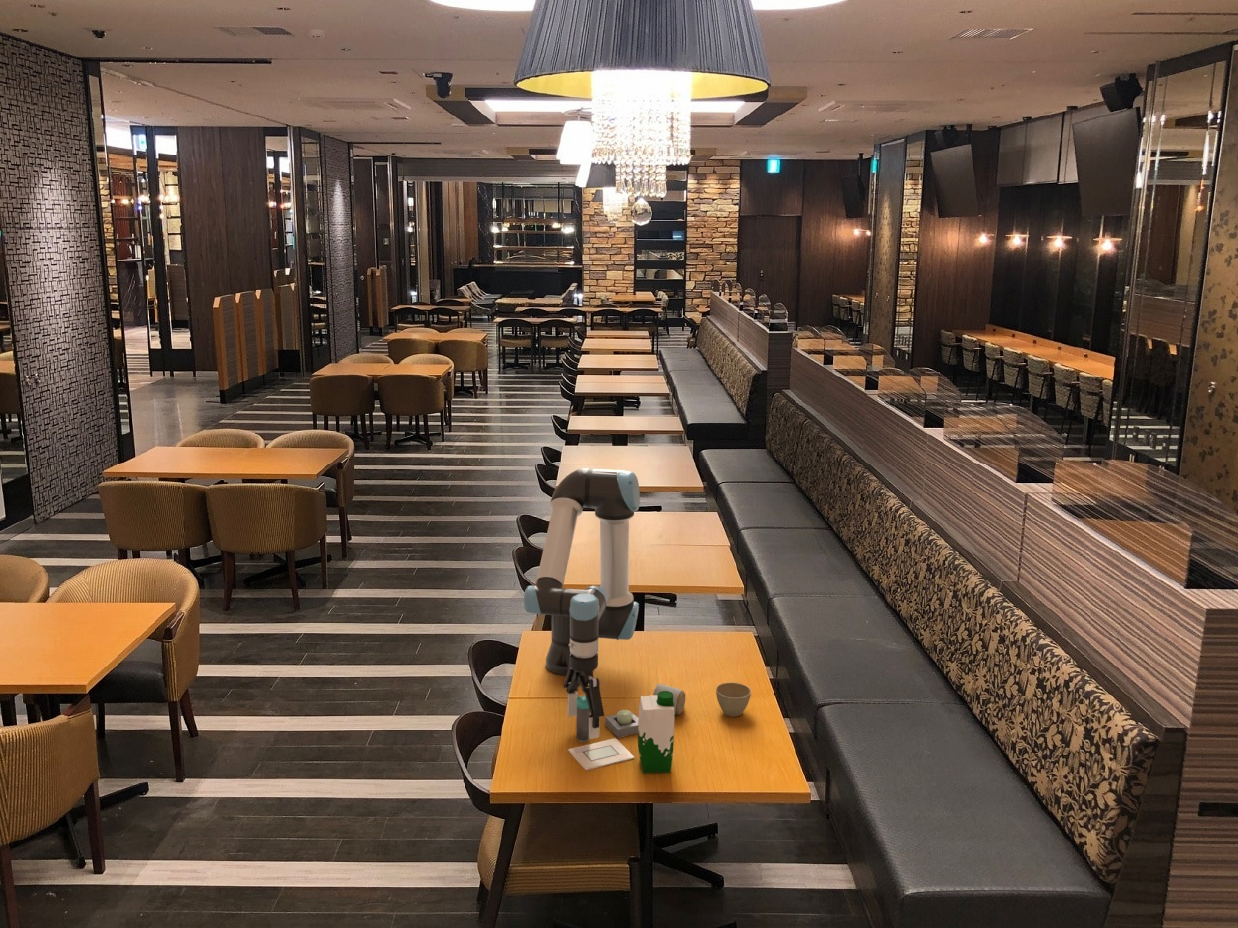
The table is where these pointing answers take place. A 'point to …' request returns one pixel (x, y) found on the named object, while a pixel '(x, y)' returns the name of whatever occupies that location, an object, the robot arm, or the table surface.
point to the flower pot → (733, 698)
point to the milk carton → (656, 732)
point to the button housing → (622, 730)
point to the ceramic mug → (677, 696)
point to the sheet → (600, 754)
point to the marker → (582, 719)
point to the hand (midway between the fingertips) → (583, 726)
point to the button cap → (624, 717)
